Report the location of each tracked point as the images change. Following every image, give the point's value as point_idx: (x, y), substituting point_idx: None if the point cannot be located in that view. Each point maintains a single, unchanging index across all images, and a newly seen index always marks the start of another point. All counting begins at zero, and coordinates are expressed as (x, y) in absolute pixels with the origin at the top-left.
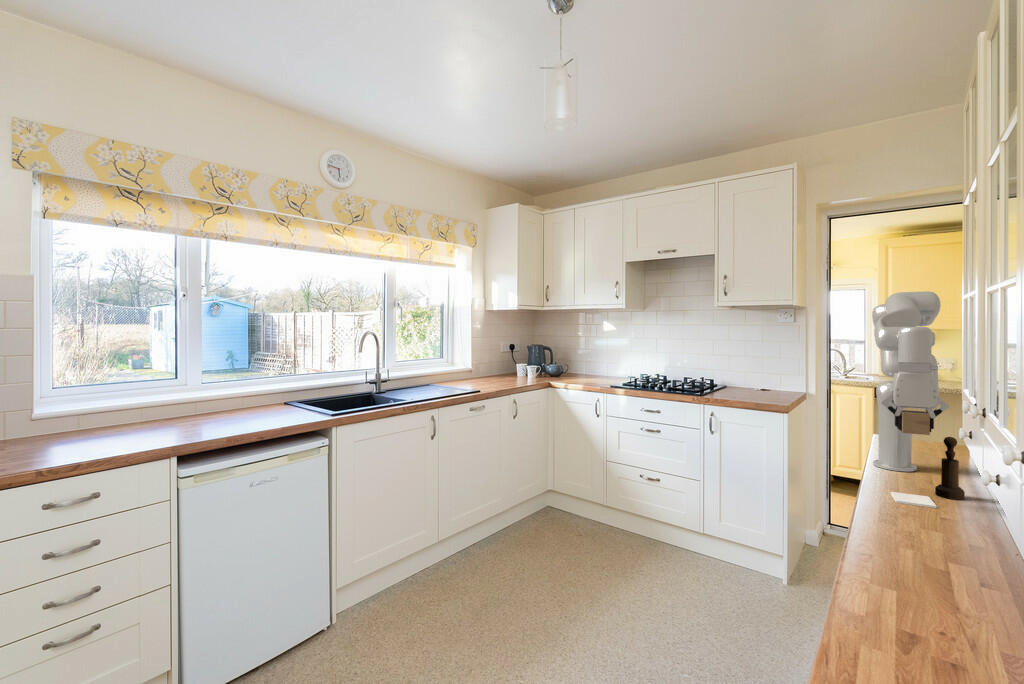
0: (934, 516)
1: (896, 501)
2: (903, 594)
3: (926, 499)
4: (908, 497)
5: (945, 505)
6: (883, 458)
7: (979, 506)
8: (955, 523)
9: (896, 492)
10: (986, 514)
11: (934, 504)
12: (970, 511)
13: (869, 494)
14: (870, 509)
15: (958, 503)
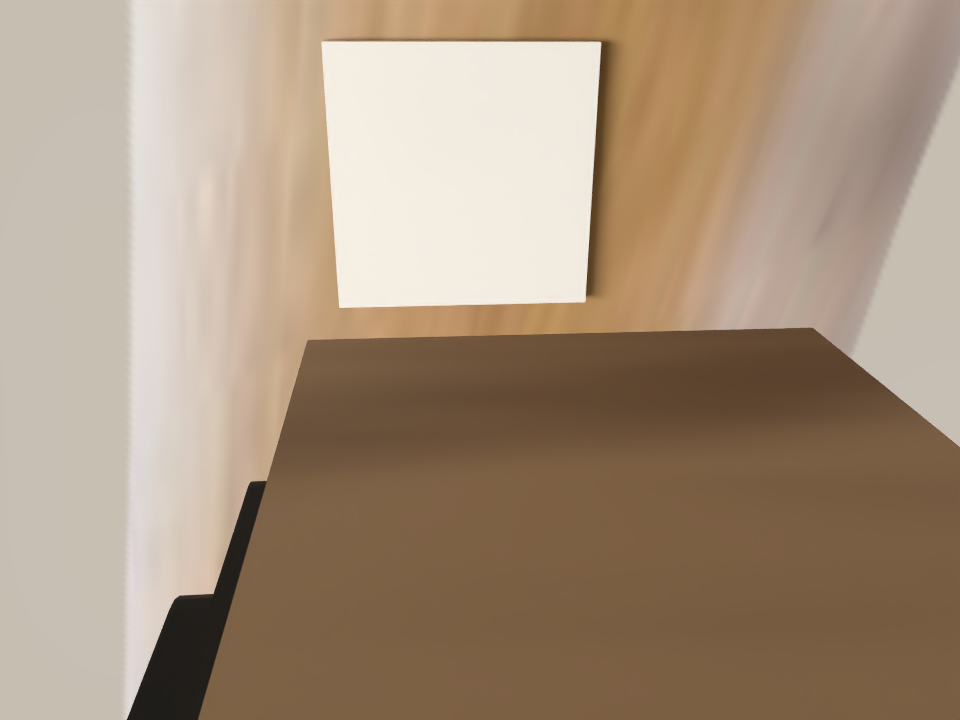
0: None
1: (340, 307)
2: None
3: (560, 153)
4: (438, 163)
5: (665, 186)
6: None
7: (904, 81)
8: None
9: (366, 44)
10: (854, 275)
11: (581, 269)
12: (780, 256)
13: (159, 162)
14: (176, 534)
15: (782, 72)
